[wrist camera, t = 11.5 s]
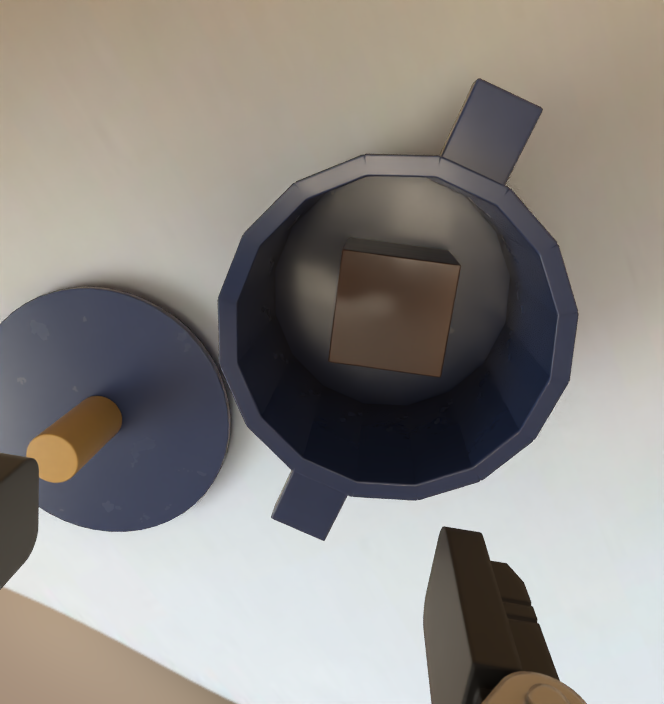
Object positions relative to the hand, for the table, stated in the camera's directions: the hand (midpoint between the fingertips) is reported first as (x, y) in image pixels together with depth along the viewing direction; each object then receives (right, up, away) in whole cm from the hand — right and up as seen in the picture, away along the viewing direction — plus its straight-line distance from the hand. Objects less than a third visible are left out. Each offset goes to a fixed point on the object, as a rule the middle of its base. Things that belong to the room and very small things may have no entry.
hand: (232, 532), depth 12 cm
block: (+5, +6, +18) cm, 20 cm away
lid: (-10, 0, +21) cm, 23 cm away
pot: (+5, +6, +19) cm, 20 cm away
